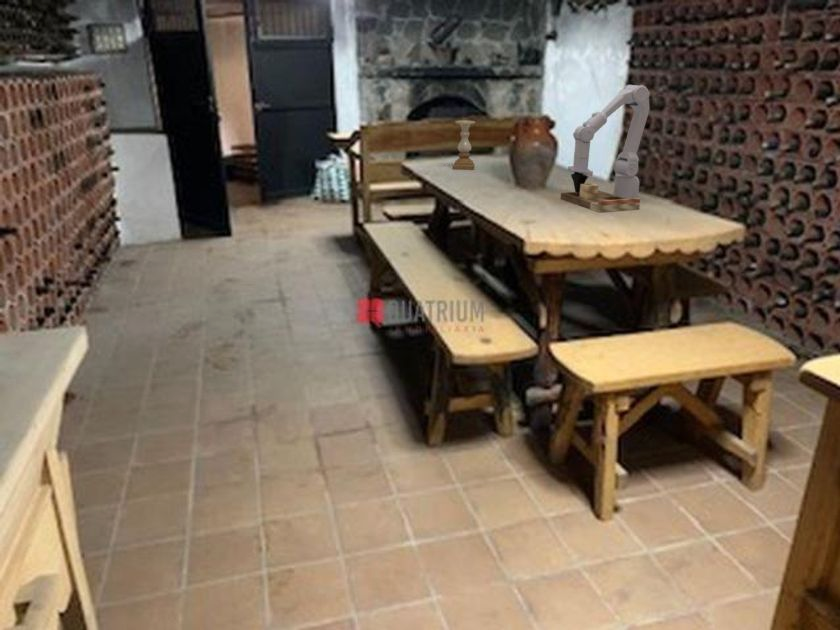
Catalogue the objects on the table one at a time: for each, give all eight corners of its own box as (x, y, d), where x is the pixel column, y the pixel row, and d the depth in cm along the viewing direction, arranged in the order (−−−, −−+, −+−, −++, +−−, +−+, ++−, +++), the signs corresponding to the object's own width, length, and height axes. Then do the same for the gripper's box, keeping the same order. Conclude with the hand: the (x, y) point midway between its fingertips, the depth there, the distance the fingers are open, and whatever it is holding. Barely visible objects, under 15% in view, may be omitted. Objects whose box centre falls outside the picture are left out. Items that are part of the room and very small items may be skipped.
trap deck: (597, 196, 273) (598, 186, 271) (639, 209, 249) (640, 198, 248) (560, 199, 267) (561, 189, 265) (599, 212, 243) (600, 201, 242)
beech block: (590, 195, 260) (591, 183, 258) (597, 198, 256) (598, 185, 254) (579, 196, 259) (580, 184, 257) (586, 199, 254) (587, 186, 252)
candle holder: (454, 166, 350) (455, 120, 342) (474, 166, 349) (476, 120, 341) (453, 169, 340) (454, 121, 331) (474, 169, 339) (475, 122, 330)
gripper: (562, 155, 263) (559, 189, 268) (583, 160, 251) (579, 195, 256) (577, 155, 266) (574, 188, 271) (598, 159, 253) (595, 194, 258)
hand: (578, 191), depth 263 cm, fingers closed
